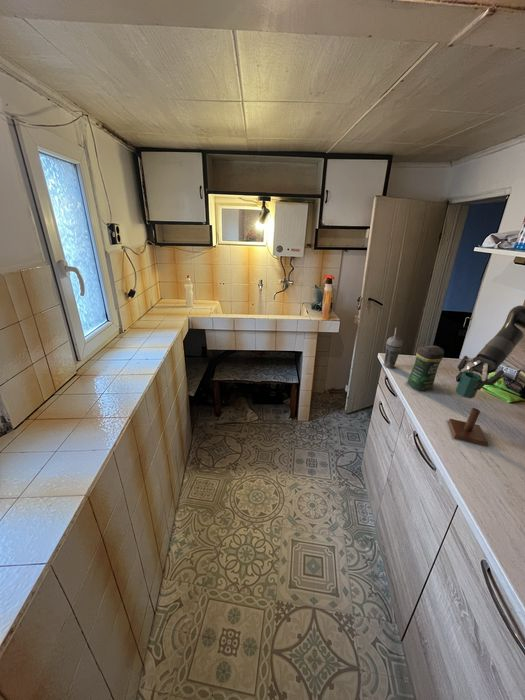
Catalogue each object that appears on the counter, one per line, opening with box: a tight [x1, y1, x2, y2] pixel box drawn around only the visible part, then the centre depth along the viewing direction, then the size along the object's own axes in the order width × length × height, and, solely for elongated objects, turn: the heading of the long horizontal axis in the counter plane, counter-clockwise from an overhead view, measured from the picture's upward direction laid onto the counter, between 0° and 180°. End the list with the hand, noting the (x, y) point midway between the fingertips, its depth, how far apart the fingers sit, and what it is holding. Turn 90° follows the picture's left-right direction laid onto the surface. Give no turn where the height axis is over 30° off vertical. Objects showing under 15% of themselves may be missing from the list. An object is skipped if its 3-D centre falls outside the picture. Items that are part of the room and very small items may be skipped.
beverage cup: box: [383, 327, 404, 369], centre depth 133 cm, size 7×7×20 cm
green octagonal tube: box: [455, 372, 482, 399], centre depth 105 cm, size 6×6×8 cm
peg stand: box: [448, 407, 489, 447], centre depth 92 cm, size 9×9×10 cm
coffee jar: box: [407, 345, 445, 391], centre depth 117 cm, size 10×8×19 cm
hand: (465, 384), depth 104 cm, fingers closed on green octagonal tube, 6 cm apart
